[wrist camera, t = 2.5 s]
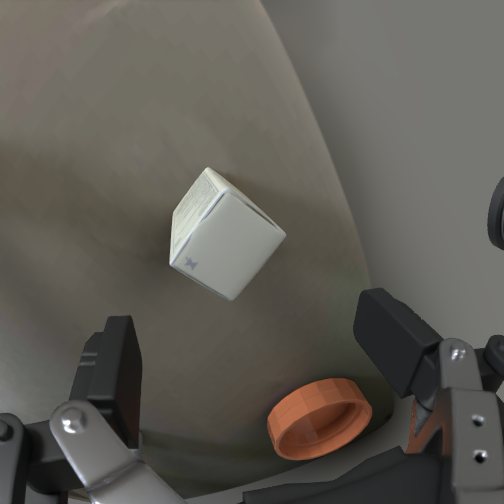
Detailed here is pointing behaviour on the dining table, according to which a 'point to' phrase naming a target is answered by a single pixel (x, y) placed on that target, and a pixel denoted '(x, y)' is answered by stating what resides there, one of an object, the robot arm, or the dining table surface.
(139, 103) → the dining table surface
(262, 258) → the box
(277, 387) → the dining table surface
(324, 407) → the bowl
